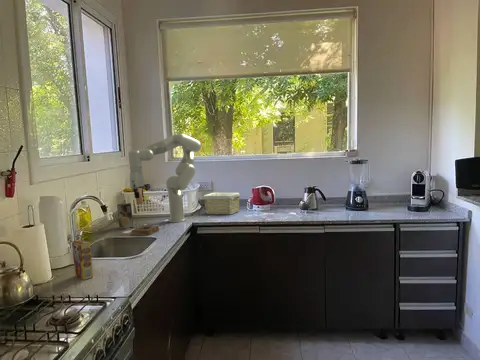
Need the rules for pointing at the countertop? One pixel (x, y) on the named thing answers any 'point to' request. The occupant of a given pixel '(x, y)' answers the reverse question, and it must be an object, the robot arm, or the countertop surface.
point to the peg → (139, 197)
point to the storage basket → (221, 203)
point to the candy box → (82, 259)
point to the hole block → (145, 230)
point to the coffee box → (125, 215)
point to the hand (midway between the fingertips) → (139, 197)
